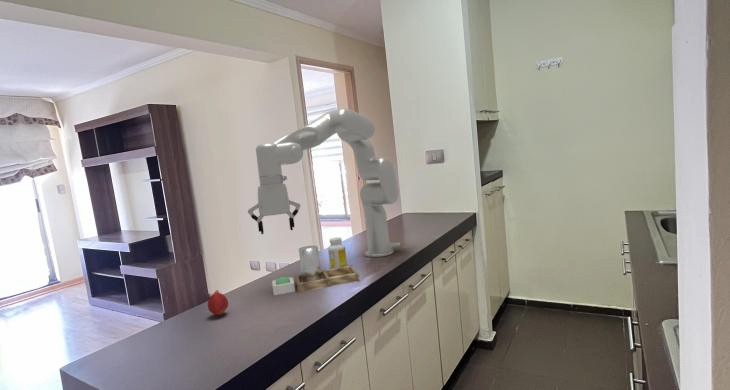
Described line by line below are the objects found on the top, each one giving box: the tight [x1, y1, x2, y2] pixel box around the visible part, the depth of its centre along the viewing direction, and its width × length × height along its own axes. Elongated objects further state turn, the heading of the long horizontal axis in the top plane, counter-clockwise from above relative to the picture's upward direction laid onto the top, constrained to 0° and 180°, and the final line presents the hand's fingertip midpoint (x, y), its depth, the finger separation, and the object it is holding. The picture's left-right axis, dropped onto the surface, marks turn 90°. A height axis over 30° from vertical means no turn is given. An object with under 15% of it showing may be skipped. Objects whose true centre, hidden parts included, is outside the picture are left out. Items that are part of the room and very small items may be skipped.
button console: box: [271, 276, 296, 296], centre depth 133 cm, size 7×7×4 cm
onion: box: [207, 289, 229, 317], centre depth 119 cm, size 6×6×8 cm
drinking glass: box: [298, 245, 322, 283], centre depth 136 cm, size 7×7×13 cm
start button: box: [276, 275, 290, 285], centre depth 133 cm, size 4×4×5 cm
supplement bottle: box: [327, 236, 348, 269], centre depth 152 cm, size 7×7×13 cm
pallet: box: [294, 265, 360, 293], centre depth 138 cm, size 21×12×4 cm, turn 104°
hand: (277, 231), depth 131 cm, fingers open, 9 cm apart
